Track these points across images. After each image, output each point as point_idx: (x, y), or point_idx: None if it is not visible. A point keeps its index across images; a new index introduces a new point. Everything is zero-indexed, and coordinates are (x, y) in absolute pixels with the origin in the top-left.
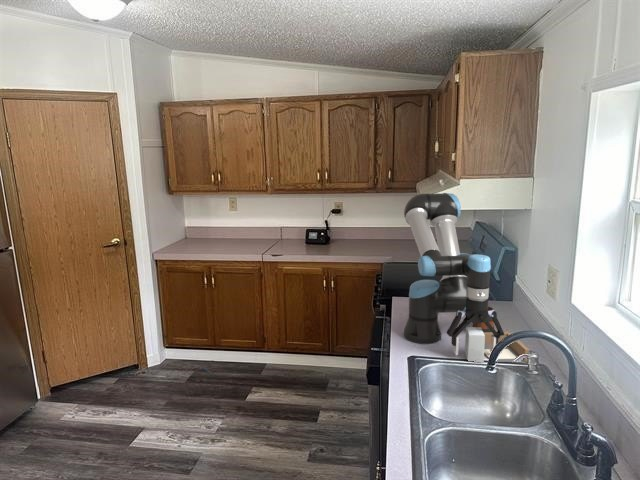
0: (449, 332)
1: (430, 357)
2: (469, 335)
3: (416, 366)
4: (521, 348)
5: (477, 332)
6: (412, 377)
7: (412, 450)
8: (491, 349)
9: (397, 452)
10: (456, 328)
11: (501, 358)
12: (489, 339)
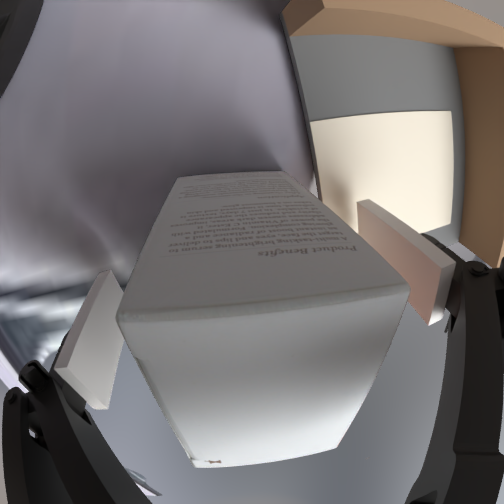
0: (39, 443)
1: (22, 291)
2: (198, 463)
3: (24, 362)
4: (496, 230)
5: (288, 438)
6: None
7: (146, 488)
8: (369, 233)
9: None
10: (51, 443)
11: None
12: (394, 29)
